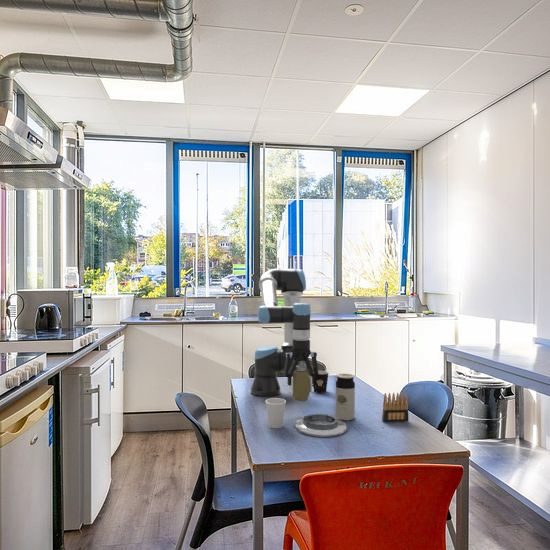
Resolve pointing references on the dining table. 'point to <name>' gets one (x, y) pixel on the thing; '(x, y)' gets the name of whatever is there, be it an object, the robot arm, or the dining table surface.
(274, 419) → the dixie cup
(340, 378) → the travel mug
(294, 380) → the squeeze bottle
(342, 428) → the rosette plate
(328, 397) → the dining table surface
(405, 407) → the ammunition clip
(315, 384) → the coffee mug
